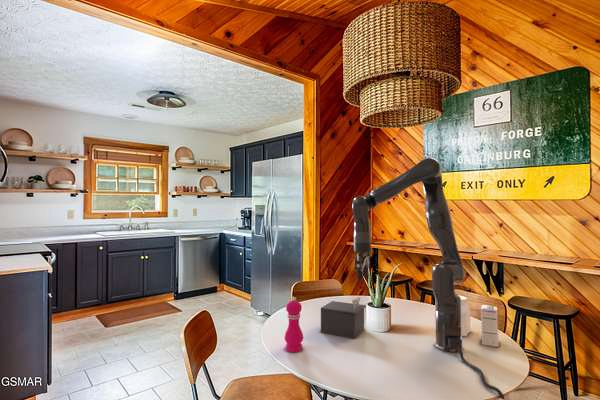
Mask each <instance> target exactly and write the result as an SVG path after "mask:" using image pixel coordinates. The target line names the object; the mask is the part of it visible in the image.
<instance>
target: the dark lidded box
mask: <svg viewBox="0 0 600 400" xmlns="http://www.w3.org/2000/svg"><path fill="white" fill-rule="evenodd" d="M364 330H365V308H364V309H363V310H361V311H360V312H359V313H358V314H349V313H341V312H334V311H327V310H321V309H320V333H322V334H327V335H333V336H334V335H335V336H339V337H343V338H349V339H356V338H357V337H358V336H359V335H360V334H361V333H363V332H364Z"/></svg>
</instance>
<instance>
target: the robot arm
mask: <svg viewBox="0 0 600 400" xmlns="http://www.w3.org/2000/svg"><path fill="white" fill-rule="evenodd" d="M418 183H421V184H422V188H423V192H424V196H425V218H426V223H427V227H428V228H427V229H428V231H429V234H430V235H431V237H432V238H433V240H434V241H435V243H436V244H437V246H438V247H439V250H440V253H441V258H442V261H441V262H440V261H439V262H436V263H435V264H434V265H433V268H432V272H431V279H432V280H431V281H432V283H431V284H432V293H433V296H434V300H435V301H434V302H435V303H434V305H435V311H434V313H435V316H434V317H435V347H436V348H437V349H439V350H440V351H443V352H445V353H459V355H460V356H459V357H460V359H461V361H462V362H463V363H464V364H465V365H466V366H467V367H470V368H471V369H473V370H475V371H476V372H478V374H479V375H480V379H481V382H482V384H483V385H484V387H486V388H488V389H490V390H493V391H495V392H496V393H497V394H498V395H499V397H500V399H502V400H505V399H506V397H505V395H504V394H503V392H502V391H501V390H500V388H498V387H496V386H494V385H491V384H490V383H488V382H487V381H486V378H485V375H484V373H483V371H482V370H481V369H480V368H479V367H477V366H475V365H473V364H471V363H470V362H468V361H467V360H466V358H465V357H464V354H463V351H462V349H463V339H462V336H461V298H460V296H461V295H460V296H458V295H459V294H456V292H455V285H460V284H461V283H462V282H463V281H464V280H465V268H464V265H463V262H462V259H461V255H460V252H459V248H458V244H457V239H456V235H455V232H454V231H455V230H454V226H453V225H454V224H453V220H452V215H451V210H450V208H449V204H448V201H447V198H446V196H445V193H444V185H443V172H442V166H441V164H440V162H439V161H438V160H437V159H435V158H432V157H427V158H423V159H422V160H420V161H419V162H417V163H416V164H415V165H413V166H412V167H411V168H409V169H407V170H406V171H405V172H403V173H401V174H400V175H398V176H396V177H395V178H393V179H391V180H389V181H387V182H385V183H383V184H381V185H379V186H377V187H375V188H373V189H372V191H370V192H369V193H367V194H365V195H358V196H356V197H355V198H354V199H353V200H352V205H351V206H352V207H351V208H352V215H353V216H352V217H353V222H354V223H353V226H354V227H353V231H354V232H353V251H354V253H357V255H355V256H354V270H355V271H356V279H357V280H358V281H363V280H364V277H369V269H370V266H371V254H370V253H371V252H372V234H371V219H370V218H369V211H370V210H372V209H375V208H376V207H377V206H379V205H380V204H383V203H385V202H387V201H390V200H391V199H393V198H395V197H397V196H398V195H400V194H401V193H402V192H403V191H405V190H406V189H408V188H410V187H411V186H413V185H416V184H418Z"/></svg>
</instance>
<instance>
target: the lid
mask: <svg viewBox="0 0 600 400" xmlns="http://www.w3.org/2000/svg"><path fill="white" fill-rule="evenodd" d="M360 301H361V297H360V296H356V297H355V298H353V299H352V300H351V303H350V302H343V301H335V300H331V301H329V302H328V303H326V304H325V305H323V306H322V307H320V311H321V310H327V311H334V312H341V313H349V314H358V313H359V312H360V311H361V310H363V309H364V310H365V308H366V307H367V305H366V304H360Z"/></svg>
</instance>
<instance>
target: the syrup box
mask: <svg viewBox="0 0 600 400" xmlns="http://www.w3.org/2000/svg"><path fill="white" fill-rule="evenodd" d="M480 319H481V320H480V321H481V344H482V345H484V346H489V347H495V348H499V316H498V306H495V305H489V304H488V305H487V304H481V307H480Z"/></svg>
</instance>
